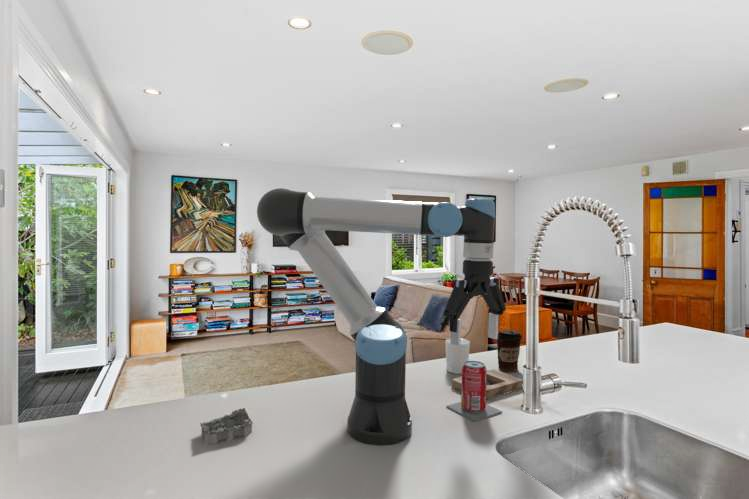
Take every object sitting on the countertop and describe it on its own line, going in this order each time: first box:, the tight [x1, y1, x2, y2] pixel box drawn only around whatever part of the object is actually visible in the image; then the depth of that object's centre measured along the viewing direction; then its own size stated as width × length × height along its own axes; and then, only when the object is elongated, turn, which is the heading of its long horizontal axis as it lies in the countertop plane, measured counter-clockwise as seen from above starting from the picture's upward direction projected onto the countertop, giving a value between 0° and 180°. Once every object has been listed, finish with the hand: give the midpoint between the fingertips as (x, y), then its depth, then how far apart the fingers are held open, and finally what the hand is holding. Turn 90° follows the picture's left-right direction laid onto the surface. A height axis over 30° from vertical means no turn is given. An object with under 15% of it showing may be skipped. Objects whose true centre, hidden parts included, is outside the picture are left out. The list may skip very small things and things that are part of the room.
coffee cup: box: [496, 329, 523, 373], centre depth 144 cm, size 9×8×13 cm
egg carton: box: [199, 407, 254, 445], centre depth 97 cm, size 11×8×4 cm
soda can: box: [460, 360, 487, 413], centre depth 111 cm, size 6×6×12 cm
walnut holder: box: [451, 368, 524, 400], centre depth 127 cm, size 18×12×2 cm, turn 123°
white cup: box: [445, 337, 471, 375], centre depth 142 cm, size 8×8×10 cm
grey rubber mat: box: [446, 401, 503, 423], centre depth 112 cm, size 10×10×1 cm
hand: (474, 341), depth 111 cm, fingers open, 13 cm apart
